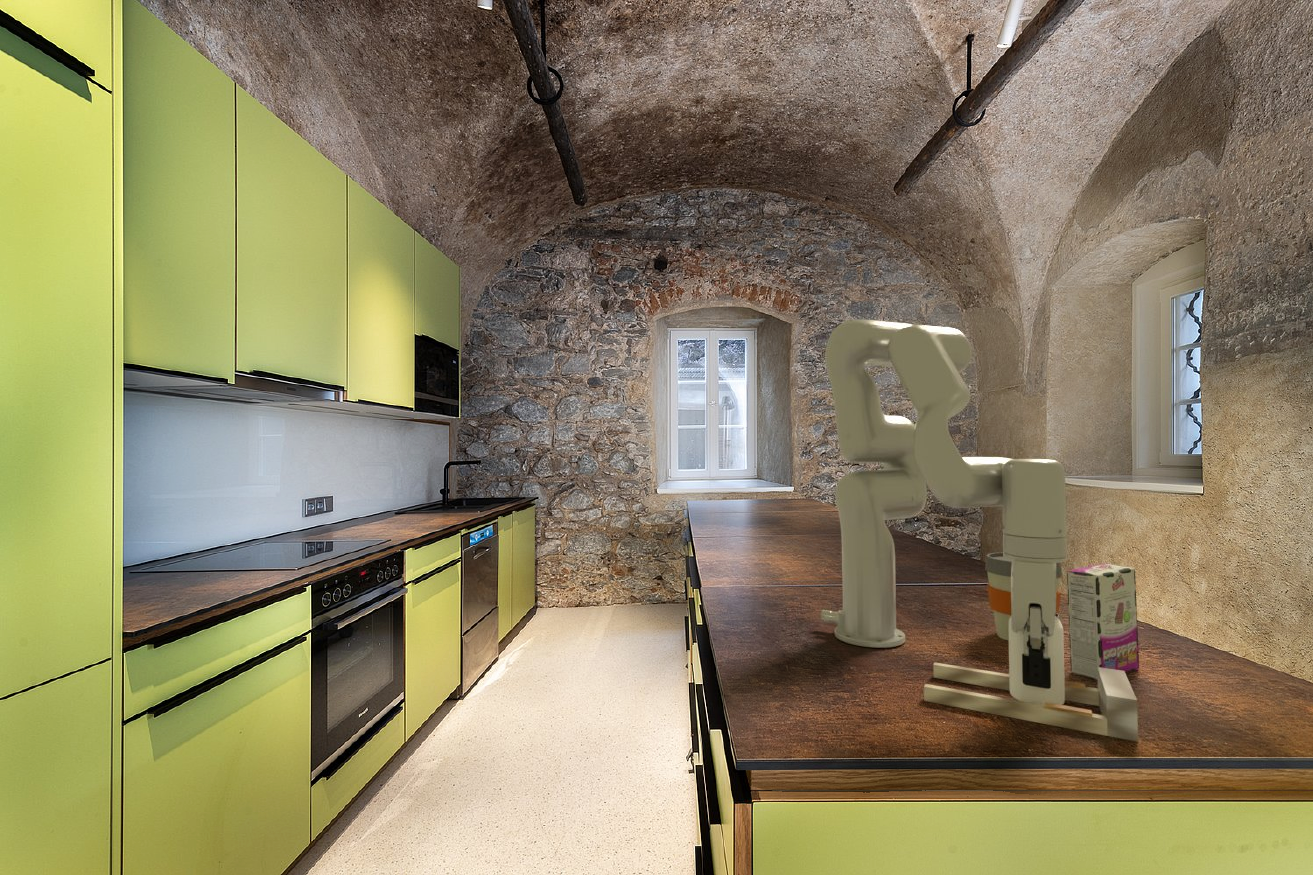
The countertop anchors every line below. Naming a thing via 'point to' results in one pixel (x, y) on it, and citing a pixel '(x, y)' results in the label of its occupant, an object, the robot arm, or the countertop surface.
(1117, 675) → the beige u-shaped frame
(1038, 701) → the can
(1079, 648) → the candy bar box
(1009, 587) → the reusable coffee cup
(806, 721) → the countertop surface
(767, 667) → the countertop surface
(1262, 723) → the countertop surface
